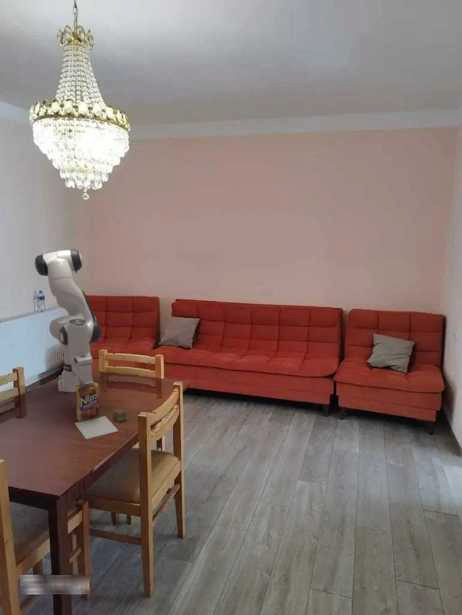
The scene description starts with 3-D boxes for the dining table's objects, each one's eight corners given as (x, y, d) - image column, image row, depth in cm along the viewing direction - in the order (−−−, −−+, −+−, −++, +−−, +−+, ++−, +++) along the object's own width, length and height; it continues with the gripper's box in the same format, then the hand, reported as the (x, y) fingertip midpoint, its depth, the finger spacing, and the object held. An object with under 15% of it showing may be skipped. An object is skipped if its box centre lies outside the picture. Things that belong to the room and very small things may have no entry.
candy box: (79, 422, 184) (77, 388, 181) (76, 418, 188) (74, 385, 185) (99, 417, 189) (98, 384, 186) (97, 414, 192) (95, 381, 190)
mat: (74, 424, 182) (74, 423, 182) (105, 417, 189) (105, 416, 189) (86, 439, 168) (86, 438, 168) (118, 431, 175) (118, 430, 175)
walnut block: (113, 419, 187) (112, 411, 186) (121, 417, 190) (120, 408, 189) (118, 422, 184) (118, 413, 184) (126, 419, 187) (126, 410, 187)
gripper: (66, 352, 197) (69, 380, 199) (78, 362, 180) (80, 393, 182) (80, 350, 200) (82, 378, 203) (93, 359, 184) (95, 390, 186)
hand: (81, 385), depth 192 cm, fingers closed
